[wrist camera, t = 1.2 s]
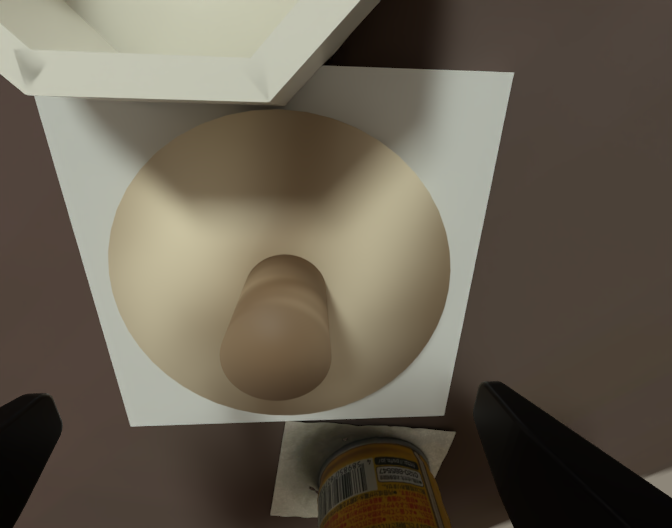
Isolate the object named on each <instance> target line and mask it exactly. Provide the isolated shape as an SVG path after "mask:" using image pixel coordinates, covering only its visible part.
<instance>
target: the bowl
mask: <svg viewBox="0 0 672 528" xmlns="http://www.w3.org/2000/svg"><path fill="white" fill-rule="evenodd" d="M380 1H381V0H0V74H1V75H2V76H4V77H5V78H6V79H7V80H8V81H10V82H11V83H12V84H13V85H15V86H16V87H17V88H18V89H19V90H21V91H22V92H23V93H24V94H25V95H33V96H50V97H67V98H84V99H101V100H118V101H135V102H167V103H202V104H236V105H271V106H284V105H286V104H287V103H288V102H289V101H290V100H291V99H292V98H293V97H294V95H295V94H296V93H297V92H298V91H299V90H300V89H301V88H302V87H303V86H304V84H305V83H306V82H307V81H308V80H309V79H310V78H311V77H312V76H313V75H314V73H315V72H316V71H317V70H318V69H319V68H320V67H321V66H322V65H323V64H324V63H325V62H326V61H327V60H329V59H330V58H331V57H332V56H333V55H334V54H335V53H336V51H337V50H338V49H339V48H340V46H341V45H342V44H343V43H344V41H345V40H346V39H347V38H348V36H349V35H350V34H351V33H352V32H353V31H354V30H355V28H356V27H357V26H358V25H359V24H360V23H361V22H362V21H363V20H364V19H365V17H366V16H367V15H368V14H369V13H370V12H371V11H372V10H373V9H374V8H375V6H376V5H377V4H378V3H379V2H380Z"/></svg>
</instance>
